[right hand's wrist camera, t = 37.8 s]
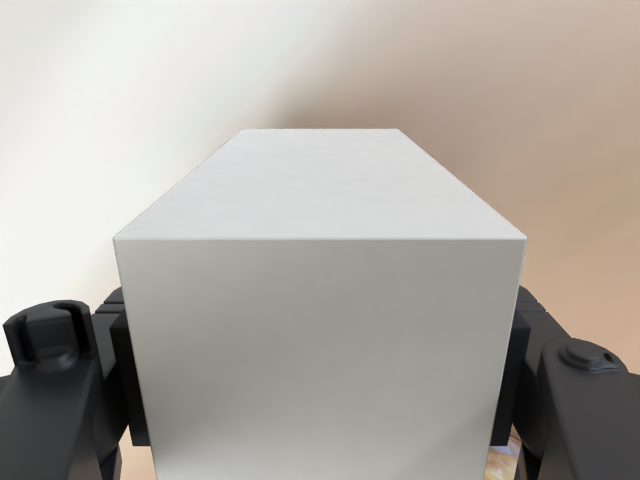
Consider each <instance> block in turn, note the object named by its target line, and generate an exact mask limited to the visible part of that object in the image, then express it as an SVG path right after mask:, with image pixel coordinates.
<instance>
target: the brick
mask: <svg viewBox="0 0 640 480" xmlns="http://www.w3.org/2000/svg"><path fill="white" fill-rule="evenodd" d="M113 244H114V249H115V254H116V260H117V265H118V271H119V276H120V282H121V287H122V293H123V298H124V304H125V309H126V314H127V320H128V325H129V331H130V336H131V342H132V347H133V353H134V358H135V363H136V369H137V374H138V380H139V385H140V391H141V396H142V402H143V407H144V413H145V418H146V423H147V429H148V434H149V440H150V445H151V451H152V456H153V462H154V467H155V473H156V478H157V480H484V474H485V469H486V463H487V458H488V452H489V447H490V441H491V436H492V430H493V425H494V420H495V414H496V409H497V403H498V398H499V392H500V387H501V381H502V376H503V371H504V365H505V360H506V354H507V349H508V343H509V338H510V332H511V327H512V322H513V316H514V311H515V305H516V300H517V294H518V289H519V283H520V278H521V272H522V267H523V262H524V256H525V251H526V245H527V237H526V236H525V235H524V234H523V233H521V232H520V231H519V230H518V229H517V228H515V227H514V226H513V225H512V224H511V223H510V222H508V221H507V220H506V219H505V218H504V217H502V216H501V215H500V214H499V213H498V212H496V211H495V210H494V209H493V208H492V207H490V206H489V205H488V204H487V203H486V202H484V201H483V200H482V199H481V198H480V197H479V196H477V195H476V194H475V193H474V192H473V191H471V190H470V189H469V188H468V187H467V186H465V185H464V184H463V183H462V182H461V181H459V180H458V179H457V178H456V177H455V176H453V175H452V174H451V173H450V172H449V171H448V170H446V169H445V168H444V167H443V166H442V165H440V164H439V163H438V162H437V161H436V160H434V159H433V158H432V157H431V156H430V155H428V154H427V153H426V152H425V151H424V150H422V149H421V148H420V147H419V146H418V145H417V144H415V143H414V142H413V141H412V140H411V139H409V138H408V137H407V136H406V135H405V134H403V133H402V132H401V131H400V130H399V129H242V130H241V131H239V132H238V133H237V134H236V135H235V136H233V137H232V138H231V139H230V140H229V141H227V142H226V143H225V144H224V145H223V146H221V147H220V148H219V149H218V150H217V151H215V152H214V153H213V154H212V155H211V156H210V157H208V158H207V159H206V160H205V161H204V162H202V163H201V164H200V165H199V166H198V167H196V168H195V169H194V170H193V171H192V172H190V173H189V174H188V175H187V176H186V177H184V178H183V179H182V180H181V181H180V182H178V183H177V184H176V185H175V186H174V187H173V188H171V189H170V190H169V191H168V192H167V193H165V194H164V195H163V196H162V197H161V198H159V199H158V200H157V201H156V202H155V203H153V204H152V205H151V206H150V207H149V208H147V209H146V210H145V211H144V212H143V213H141V214H140V215H139V216H138V217H137V218H136V219H134V220H133V221H132V222H131V223H130V224H128V225H127V226H126V227H125V228H124V229H122V230H121V231H120V232H119V233H118V234H116V235H115V236H114V237H113Z"/></svg>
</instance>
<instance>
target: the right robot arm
mask: <svg viewBox="0 0 640 480" xmlns="http://www.w3.org/2000/svg"><path fill="white" fill-rule="evenodd" d="M3 328H4V332H5V335H6V338H7V342H8V345H9V348H10V351H11V355H12V358H13V361H14V365H15V367H14V369H13V371H12V373H11V375H8V376H3V377H0V480H120V474H121V466H122V458H121V452H120V447H119V441H120V439H121V437H122V435H123V433H124V431H125V430H126V428H127V426H128V425H129V430H130V434H131V439H132V444H133V446H151V445H150V440H149V434H148V429H147V423H146V418H145V413H144V407H143V402H142V396H141V391H140V385H139V380H138V374H137V369H136V363H135V358H134V353H133V347H132V342H131V336H130V331H129V325H128V320H127V314H126V309H125V304H124V298H123V293H122V287H119V288H118V289H116V290H114V291H113V292H112V293H111V294H110V295H109V297H108V298H107V299H106V300H105V301H104V304H101V305H100V306H99V308H98V309H97V310H96V311H95V314H92V315H91V314H90V309H89V306H88V305H86V304H85V303H83V302H80V301H75V300H57V301H51V302H47V303H42V304H38V305H35V306H33V307H30V308H27V309H24V310H22V311H21V312H19V313H17V314H15V315H13V316H12V317H10V318H9V319H8V320H7V321H6V322H5V323H4V324H3ZM512 423H513V425H514V427H515V429H516V430H517V432H518V434H519V436H520V438H521V440H522V443H521V447H520V452H519V457H518V461H517V466H516V471H515V475H514V480H640V375H637V374H633V373H629V372H628V370H627V368H626V366H625V365H624V364H623V362H622V361H621V360H620V359H619V358H618V357H617V356H616V355H614V354H613V353H611V352H610V351H608V350H607V349H605V348H603V347H601V346H598V345H596V344H594V343H591V342H588V341H584V340H580V339H576V338H571V337H570V336H569V335H568V334H567V332H566V331H565V330H564V329H563V328H562V327H561V326H560V325H559V324H558V323H557V322H556V321H555V319H554V318H553V317H552V316H551V315H550V314H549V313H548V312H546V310H545V309H544V307H543V306H542V305H541V304H540V303H537V300H536V299H535V298H534V297H533V295H532V294H531V293H530V292H529V291H528V290H527V289H526V288H524V287H522V286H520V285H519V289H518V294H517V300H516V305H515V311H514V316H513V322H512V327H511V332H510V338H509V343H508V349H507V354H506V360H505V365H504V371H503V376H502V381H501V387H500V392H499V398H498V403H497V409H496V414H495V420H494V425H493V430H492V436H491V441H490V446H508V441H509V436H510V431H511V426H512Z"/></svg>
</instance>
